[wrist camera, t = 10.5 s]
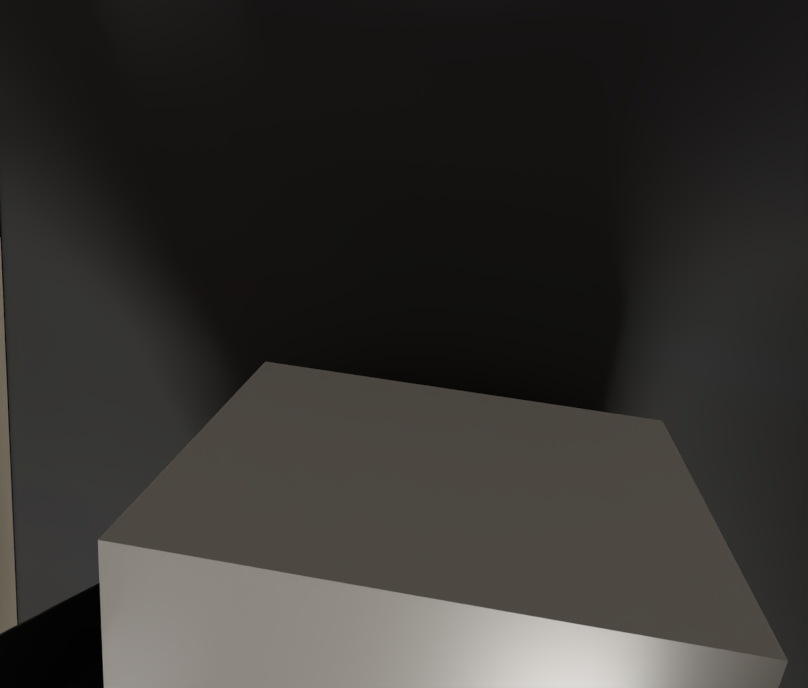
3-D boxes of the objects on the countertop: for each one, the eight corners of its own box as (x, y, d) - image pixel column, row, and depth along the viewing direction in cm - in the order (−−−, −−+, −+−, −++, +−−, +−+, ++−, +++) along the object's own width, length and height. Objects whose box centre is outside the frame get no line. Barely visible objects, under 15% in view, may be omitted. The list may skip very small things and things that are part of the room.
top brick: (662, 421, 9) (788, 661, 5) (584, 733, 10) (633, 1094, 6) (265, 361, 9) (97, 539, 5) (251, 669, 11) (114, 974, 7)
